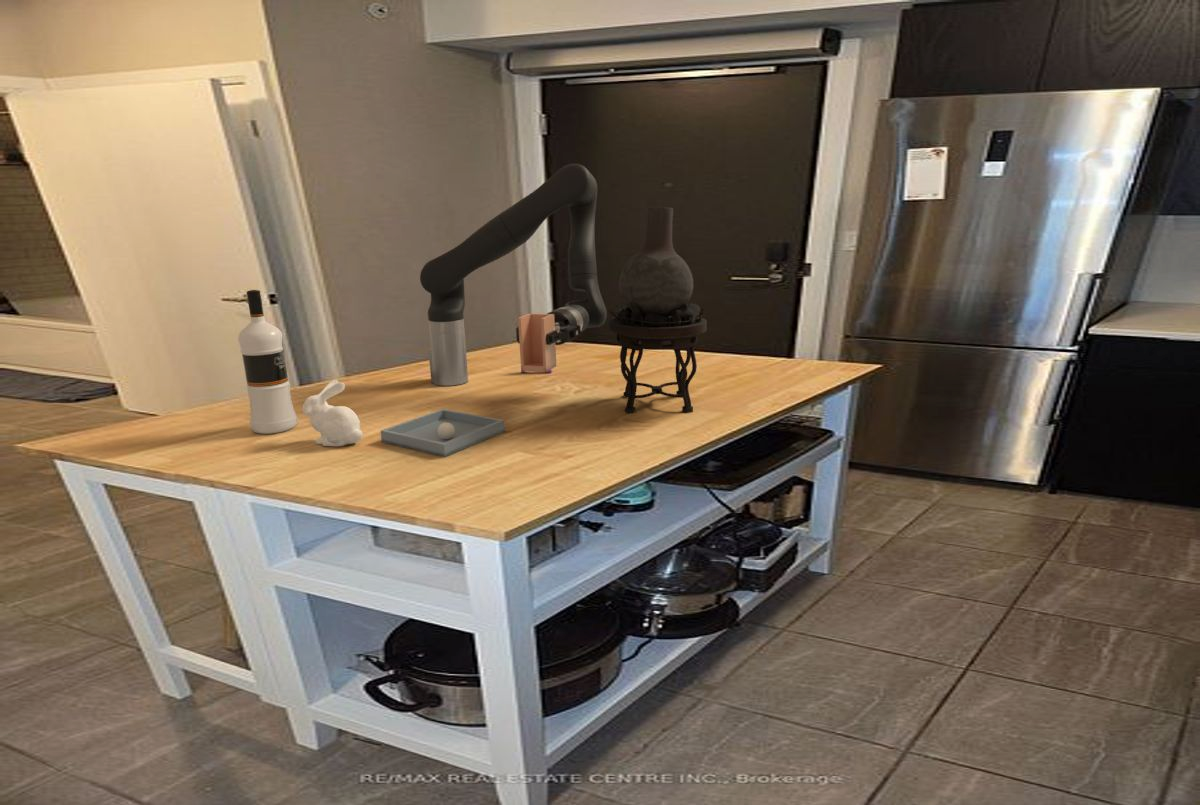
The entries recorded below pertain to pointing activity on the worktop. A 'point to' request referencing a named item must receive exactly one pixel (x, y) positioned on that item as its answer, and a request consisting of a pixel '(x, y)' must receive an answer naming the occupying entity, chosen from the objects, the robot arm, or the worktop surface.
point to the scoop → (536, 342)
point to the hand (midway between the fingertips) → (533, 339)
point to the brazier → (657, 308)
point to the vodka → (265, 372)
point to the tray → (426, 438)
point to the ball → (446, 430)
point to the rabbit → (332, 418)
